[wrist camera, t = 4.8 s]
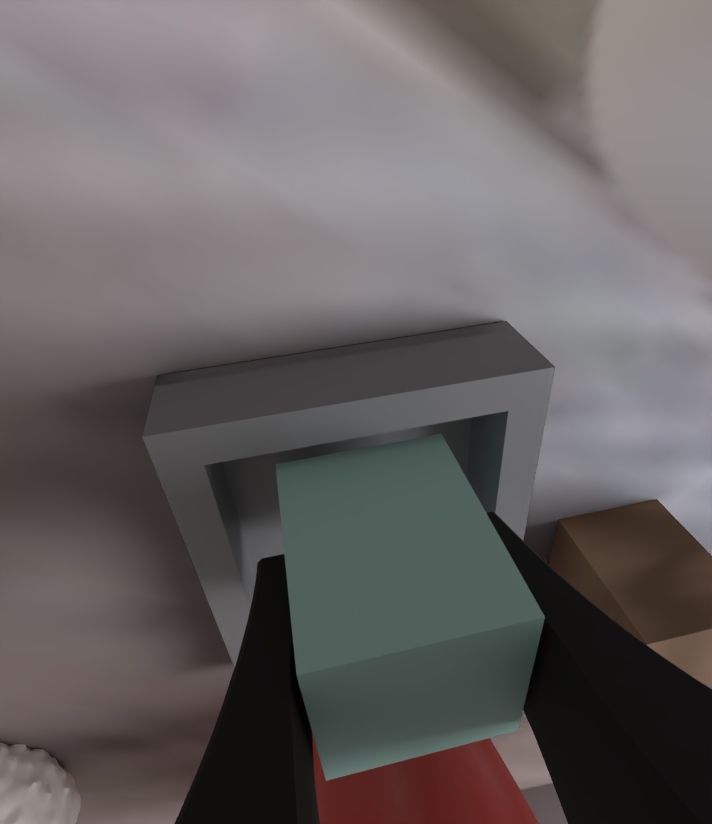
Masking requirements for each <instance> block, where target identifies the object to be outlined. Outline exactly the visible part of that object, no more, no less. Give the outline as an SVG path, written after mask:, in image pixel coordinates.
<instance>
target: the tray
mask: <svg viewBox="0 0 712 824" xmlns="http://www.w3.org/2000/svg"><path fill="white" fill-rule="evenodd" d="M554 371H555V366H554V365H552V364H551V363H550V362H549V361H548V360H547V359H546V358H545V357H544V356H543V355H542V354H541V353H540V352H539V351H538V350H536V349H535V348H534V347H533V346H532V345H531V344H530V343H529V342H528V341H527V340H526V339H525V338H524V337H523V336H522V335H521V334H519V333H518V332H517V331H516V330H515V329H514V328H513V327H512V326H511V325H510V324H509V323H508V322H507V321H505V322H499V323H492V324H486V325H480V326H473V327H467V328H460V329H454V330H447V331H441V332H435V333H428V334H422V335H415V336H409V337H402V338H396V339H390V340H383V341H377V342H370V343H364V344H358V345H351V346H345V347H338V348H332V349H325V350H319V351H313V352H306V353H300V354H293V355H287V356H281V357H274V358H268V359H261V360H255V361H248V362H242V363H236V364H229V365H223V366H216V367H210V368H203V369H197V370H191V371H184V372H178V373H171V374H165V375H159V376H157V379H156V383H155V387H154V391H153V395H152V399H151V403H150V407H149V411H148V415H147V419H146V423H145V427H144V431H143V435H142V438H143V441H144V443H145V446H146V448H147V451H148V453H149V456H150V458H151V461H152V463H153V466H154V468H155V471H156V473H157V476H158V478H159V481H160V483H161V486H162V488H163V491H164V493H165V496H166V498H167V501H168V503H169V506H170V508H171V511H172V513H173V516H174V518H175V521H176V523H177V526H178V528H179V530H180V533H181V535H182V538H183V540H184V543H185V545H186V548H187V550H188V553H189V555H190V558H191V560H192V563H193V565H194V568H195V570H196V573H197V575H198V578H199V580H200V583H201V585H202V588H203V590H204V593H205V595H206V598H207V600H208V603H209V605H210V608H211V610H212V613H213V615H214V618H215V620H216V623H217V625H218V628H219V630H220V633H221V635H222V638H223V640H224V643H225V645H226V648H227V650H228V653H229V655H230V658H231V660H232V663H233V665H234V668H235V665H236V662H237V659H238V655H239V651H240V648H241V644H242V640H243V636H244V633H245V629H246V625H247V621H248V617H249V612H250V608H251V603H252V598H253V593H254V587H255V581H256V574H257V563H258V562H259V561H260V560H261V559H262V558H266V557H271V556H276V555H281V554H284V545H283V535H282V525H281V515H280V505H279V495H278V485H277V475H276V465H275V464H279V463H285V462H290V461H296V460H301V459H306V458H312V457H317V456H322V455H328V454H333V453H339V452H344V451H349V450H355V449H360V448H366V447H371V446H376V445H382V444H387V443H392V442H398V441H403V440H409V439H414V438H419V437H425V436H430V435H435V434H442V435H443V437H444V439H445V441H446V443H447V444H448V446H449V448H450V450H451V451H452V453H453V455H454V457H455V458H456V460H457V462H458V464H459V466H460V467H461V469H462V471H463V473H464V474H465V476H466V478H467V480H468V482H469V483H470V485H471V487H472V489H473V490H474V492H475V494H476V496H477V497H478V499H479V501H480V503H481V505H482V506H483V508H484V510H485V512H486V513H487V512H492V511H493V512H494V513H495V514H497V515H498V516H499V517H500V518H501V519H502V520H503V521H504V522H505V523H506V524H507V525H508V526H509V527H510V528H511V529H512V530H513V531H514V532H515V533H516V534H517V535H518V536H519V537H520V538H521V539H522V540H524V534H525V529H526V523H527V518H528V512H529V507H530V501H531V496H532V490H533V485H534V480H535V474H536V469H537V463H538V458H539V452H540V447H541V441H542V436H543V431H544V425H545V420H546V414H547V409H548V403H549V398H550V392H551V387H552V382H553V376H554Z"/></svg>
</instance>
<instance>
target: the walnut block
mask: <svg viewBox="0 0 712 824" xmlns="http://www.w3.org/2000/svg"><path fill="white" fill-rule="evenodd" d="M548 565H550V566H551V567H552V568H553V569H554V570H555V571H556V572H557V573H558V574H560V575H561V576H562V577H563V578H564V579H565V580H566V581H567V582H569V583H570V584H571V585H572V586H573V587H574V588H575V589H576V590H578V591H579V592H580V593H581V594H582V595H584V596H585V597H586V598H587V599H588V600H589V601H591V602H592V603H593V604H594V605H596V606H597V607H598V608H599V609H600V610H602V611H603V612H604V613H605V614H607V615H608V616H609V617H610V618H612V619H613V620H614V621H615V622H617V623H618V624H619V625H621V626H622V627H623V628H624V629H626V630H627V631H628V632H630V633H631V634H632V635H634V636H635V637H636V638H638V639H639V640H640V641H642V642H643V643H644V644H646V645H647V646H649V647H650V648H651V649H653V650H654V651H656V652H657V653H658V654H660V655H661V656H663V657H664V658H665V659H667V660H668V661H670V662H671V663H673V664H674V665H676V666H677V667H679V668H680V669H682V670H683V671H684V672H686V673H687V674H689V675H690V676H692V677H693V678H695V679H696V680H698V681H700V682H701V683H703V684H704V685H706V686H709V685H712V556H711V555H710V554H709V553H708V552H707V551H706V550H705V548H704V547H703V546H702V545H701V544H700V543H699V542H698V541H697V540H696V539H695V538H694V537H693V536H692V535H691V534H690V533H689V532H688V531H687V530H686V529H685V528H684V527H683V526H682V525H681V524H680V523H679V522H678V521H677V520H676V519H675V518H674V517H673V516H672V515H671V514H670V512H669V511H668V510H667V509H666V508H665V507H664V506H663V505H662V504H661V503H660V502H659V501H658V500H657V499H656V500H651V501H646V502H642V503H637V504H632V505H627V506H623V507H618V508H613V509H608V510H603V511H599V512H594V513H589V514H584V515H580V516H575V517H570V518H565V519H560V520H558V525H557V529H556V533H555V537H554V542H553V546H552V550H551V554H550V559H549V563H548Z"/></svg>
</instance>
